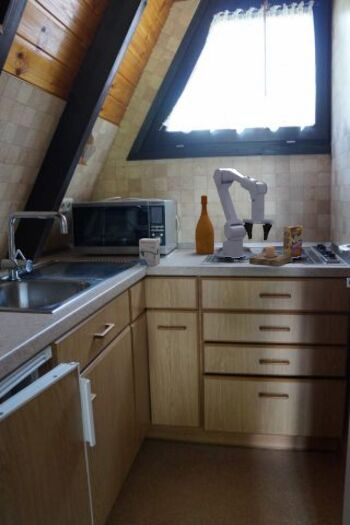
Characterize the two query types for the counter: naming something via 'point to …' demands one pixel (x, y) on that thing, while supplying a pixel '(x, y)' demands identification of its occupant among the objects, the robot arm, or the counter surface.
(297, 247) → the candy box
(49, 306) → the counter surface
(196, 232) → the wine bottle
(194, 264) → the counter surface
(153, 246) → the ink box
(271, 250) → the peg
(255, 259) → the socket block
